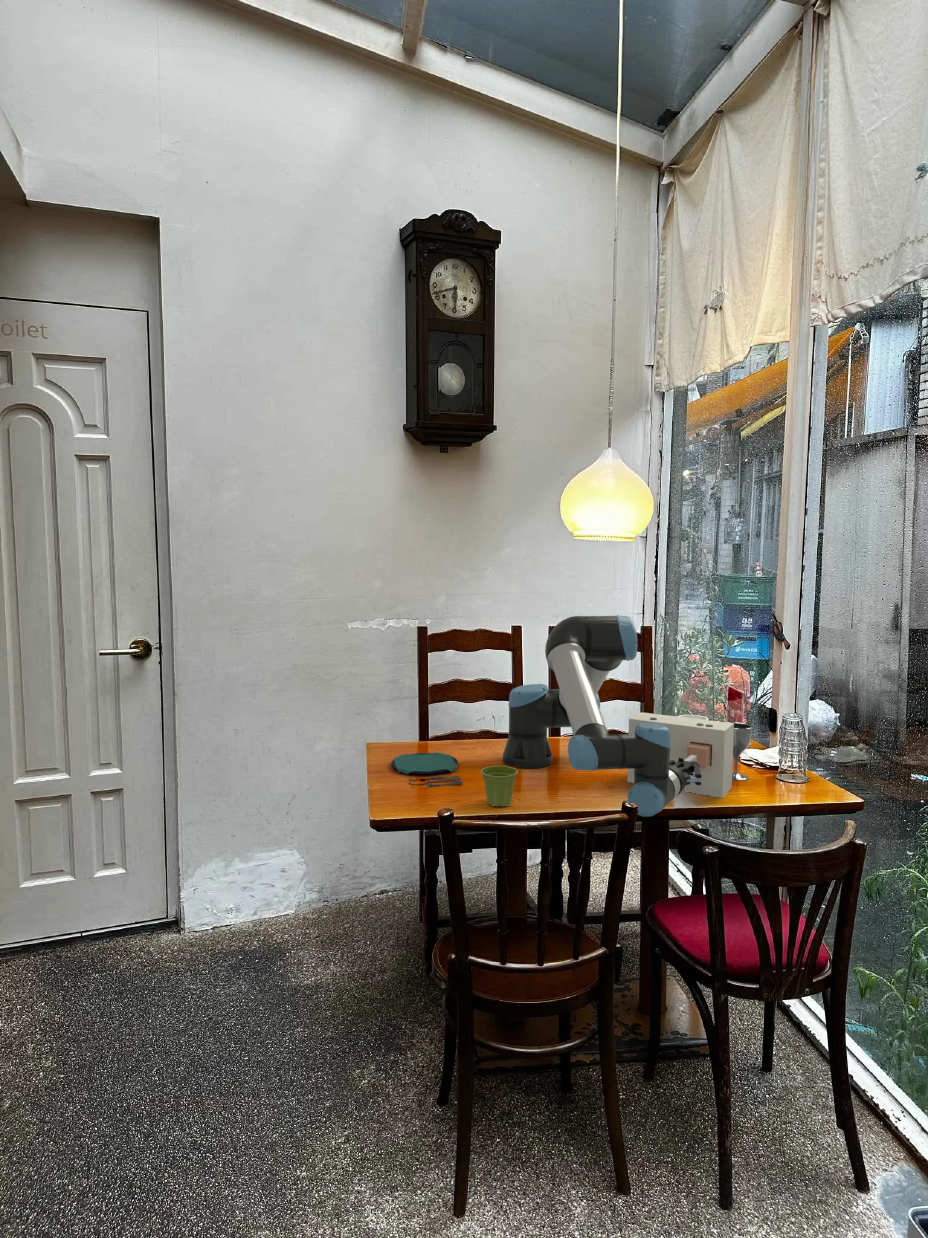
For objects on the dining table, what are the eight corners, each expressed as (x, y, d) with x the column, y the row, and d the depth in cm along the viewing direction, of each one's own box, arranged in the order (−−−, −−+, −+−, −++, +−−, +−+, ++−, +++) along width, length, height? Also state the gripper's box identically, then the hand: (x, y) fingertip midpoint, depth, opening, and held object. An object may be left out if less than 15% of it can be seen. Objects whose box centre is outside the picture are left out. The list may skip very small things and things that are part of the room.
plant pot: (496, 812, 192) (496, 778, 192) (473, 802, 200) (473, 769, 199) (525, 805, 198) (525, 772, 197) (501, 795, 206) (502, 763, 205)
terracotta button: (705, 768, 202) (706, 749, 201) (686, 765, 205) (687, 746, 204) (711, 762, 207) (712, 744, 206) (693, 760, 210) (693, 741, 209)
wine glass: (715, 776, 224) (717, 724, 222) (730, 771, 229) (732, 721, 228) (740, 782, 218) (742, 730, 216) (755, 777, 223) (757, 725, 221)
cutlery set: (452, 757, 244) (452, 750, 244) (470, 788, 214) (470, 779, 214) (388, 760, 240) (388, 753, 240) (398, 792, 211) (398, 784, 211)
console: (722, 798, 204) (724, 729, 202) (627, 782, 218) (628, 717, 216) (731, 788, 213) (734, 722, 211) (639, 773, 226) (641, 711, 225)
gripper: (637, 794, 184) (668, 770, 204) (692, 804, 177) (719, 778, 197) (638, 763, 184) (669, 742, 204) (693, 772, 177) (720, 749, 197)
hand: (693, 760), depth 200 cm, fingers closed
